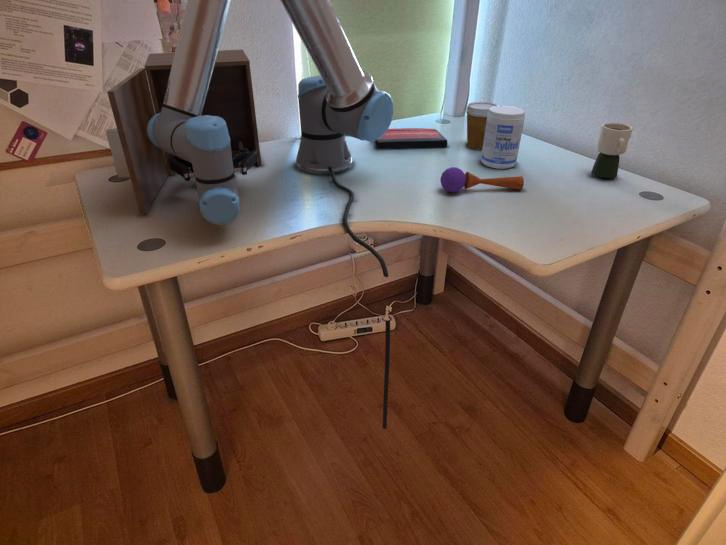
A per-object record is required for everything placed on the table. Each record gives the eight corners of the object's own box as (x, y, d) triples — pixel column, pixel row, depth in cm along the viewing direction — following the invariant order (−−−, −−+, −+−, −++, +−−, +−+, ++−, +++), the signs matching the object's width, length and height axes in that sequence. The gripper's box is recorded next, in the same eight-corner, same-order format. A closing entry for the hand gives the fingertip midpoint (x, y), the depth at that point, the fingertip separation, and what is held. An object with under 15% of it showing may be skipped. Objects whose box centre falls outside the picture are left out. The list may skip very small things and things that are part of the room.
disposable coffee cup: (495, 143, 151) (501, 103, 145) (491, 152, 144) (497, 111, 137) (464, 140, 154) (468, 100, 147) (459, 149, 146) (463, 108, 140)
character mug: (625, 184, 124) (641, 133, 117) (597, 184, 124) (611, 132, 117) (608, 168, 133) (622, 120, 126) (582, 168, 133) (594, 120, 126)
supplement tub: (493, 172, 131) (502, 116, 123) (473, 160, 138) (480, 107, 130) (523, 167, 134) (533, 112, 126) (502, 156, 141) (510, 103, 133)
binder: (447, 139, 146) (377, 141, 145) (447, 147, 148) (377, 149, 146) (436, 126, 160) (372, 128, 159) (435, 133, 161) (372, 135, 160)
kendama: (528, 179, 116) (445, 175, 114) (520, 200, 120) (440, 196, 118) (521, 166, 120) (441, 161, 118) (514, 186, 124) (436, 182, 122)
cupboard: (274, 200, 115) (261, 79, 101) (127, 218, 108) (90, 89, 93) (254, 146, 149) (242, 49, 134) (141, 156, 141) (116, 55, 126)
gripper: (159, 203, 105) (163, 169, 122) (276, 190, 111) (264, 159, 128) (151, 170, 101) (156, 139, 118) (272, 158, 107) (261, 130, 124)
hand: (212, 149), depth 123 cm, fingers open, 13 cm apart
